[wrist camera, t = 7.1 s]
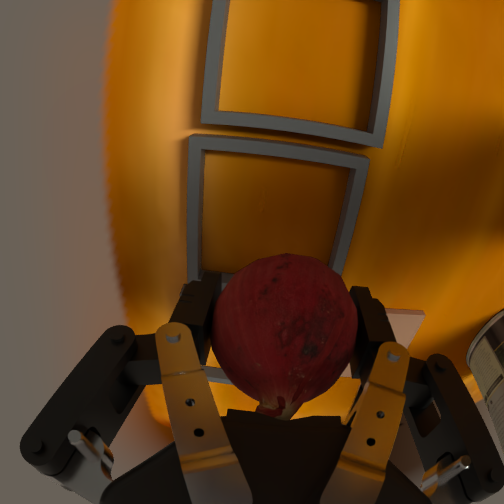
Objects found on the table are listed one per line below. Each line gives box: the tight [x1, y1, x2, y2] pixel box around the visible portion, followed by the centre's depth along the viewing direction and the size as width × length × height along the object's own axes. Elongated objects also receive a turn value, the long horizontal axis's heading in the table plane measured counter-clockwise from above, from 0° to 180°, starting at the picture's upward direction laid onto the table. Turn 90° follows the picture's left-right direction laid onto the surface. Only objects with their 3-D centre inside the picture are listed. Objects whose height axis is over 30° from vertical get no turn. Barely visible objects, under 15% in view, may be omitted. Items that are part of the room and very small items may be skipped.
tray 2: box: [187, 134, 370, 291], centre depth 18 cm, size 10×10×1 cm
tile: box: [340, 308, 425, 377], centre depth 23 cm, size 8×8×1 cm
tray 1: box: [201, 0, 400, 149], centre depth 13 cm, size 10×10×1 cm
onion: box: [210, 253, 358, 420], centre depth 11 cm, size 6×6×8 cm
